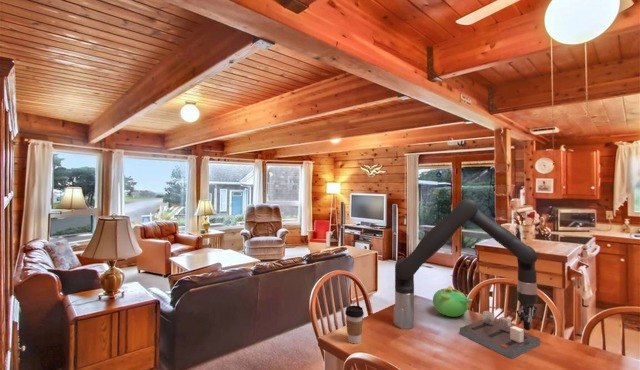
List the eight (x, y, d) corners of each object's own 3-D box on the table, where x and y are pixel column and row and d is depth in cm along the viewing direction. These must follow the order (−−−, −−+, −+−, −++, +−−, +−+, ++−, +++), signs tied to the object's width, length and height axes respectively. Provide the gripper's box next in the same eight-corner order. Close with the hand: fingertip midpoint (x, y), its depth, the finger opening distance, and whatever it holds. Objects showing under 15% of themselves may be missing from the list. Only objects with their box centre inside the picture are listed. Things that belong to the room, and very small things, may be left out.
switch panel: (511, 359, 127) (512, 338, 127) (459, 334, 148) (460, 316, 148) (540, 345, 138) (540, 326, 138) (488, 323, 159) (488, 307, 159)
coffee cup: (341, 340, 142) (341, 308, 142) (352, 334, 148) (352, 302, 148) (356, 347, 136) (356, 313, 136) (367, 340, 143) (367, 307, 142)
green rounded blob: (462, 309, 176) (462, 283, 176) (474, 323, 160) (474, 294, 159) (429, 308, 178) (429, 282, 178) (437, 321, 161) (437, 293, 161)
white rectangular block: (519, 342, 134) (519, 331, 134) (510, 338, 137) (510, 327, 137) (523, 341, 135) (523, 329, 135) (514, 337, 139) (514, 325, 138)
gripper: (526, 286, 146) (526, 322, 146) (510, 291, 140) (510, 329, 140) (544, 290, 140) (544, 329, 140) (528, 296, 133) (528, 336, 133)
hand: (527, 329), depth 140 cm, fingers closed
